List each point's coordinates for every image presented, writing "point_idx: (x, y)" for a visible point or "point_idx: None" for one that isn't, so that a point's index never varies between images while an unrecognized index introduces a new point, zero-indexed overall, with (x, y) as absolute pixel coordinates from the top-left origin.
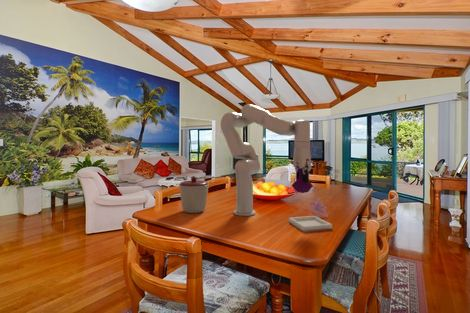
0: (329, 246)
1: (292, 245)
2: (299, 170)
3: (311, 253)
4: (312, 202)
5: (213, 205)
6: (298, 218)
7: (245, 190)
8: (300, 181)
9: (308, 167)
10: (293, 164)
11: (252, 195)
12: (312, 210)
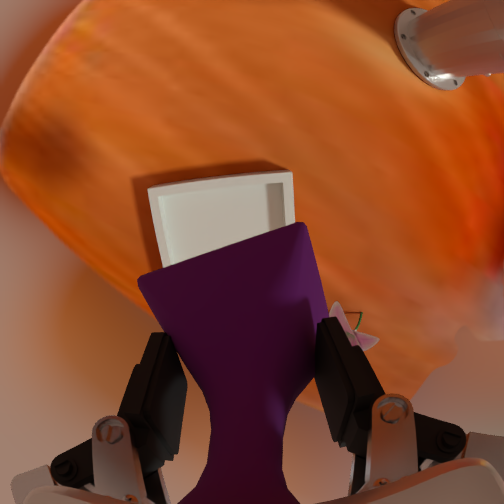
0: (45, 217)
1: (54, 110)
2: (217, 467)
3: (16, 152)
4: (366, 338)
5: None
6: (284, 218)
7: (474, 3)
8: (193, 324)
9: (21, 489)
10: (482, 496)
11: (476, 57)
12: (331, 311)
